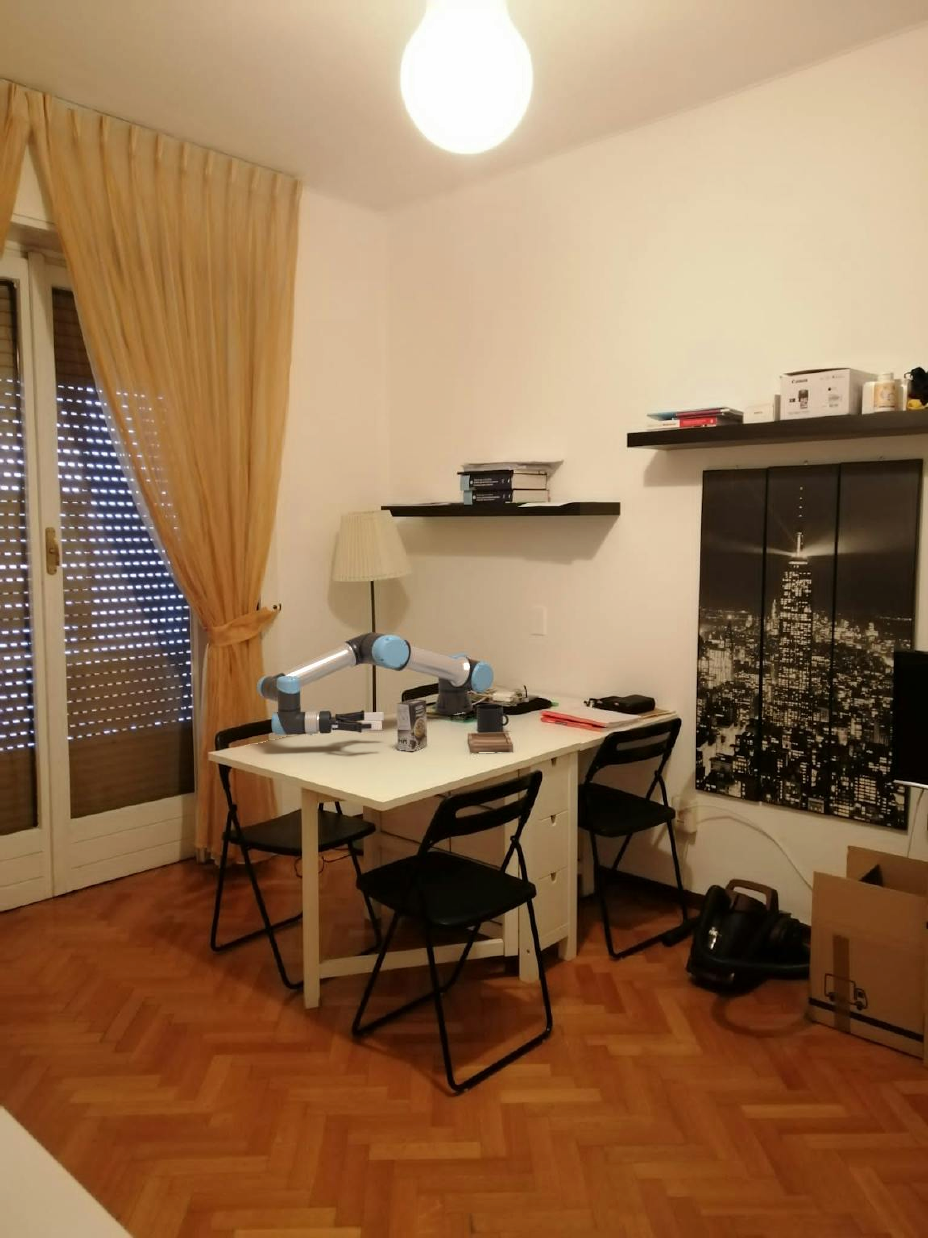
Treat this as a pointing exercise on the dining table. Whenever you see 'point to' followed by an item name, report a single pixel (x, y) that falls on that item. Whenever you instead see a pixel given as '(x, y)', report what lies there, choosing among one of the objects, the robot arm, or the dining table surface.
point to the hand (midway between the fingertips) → (382, 720)
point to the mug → (490, 718)
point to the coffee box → (412, 724)
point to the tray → (490, 742)
